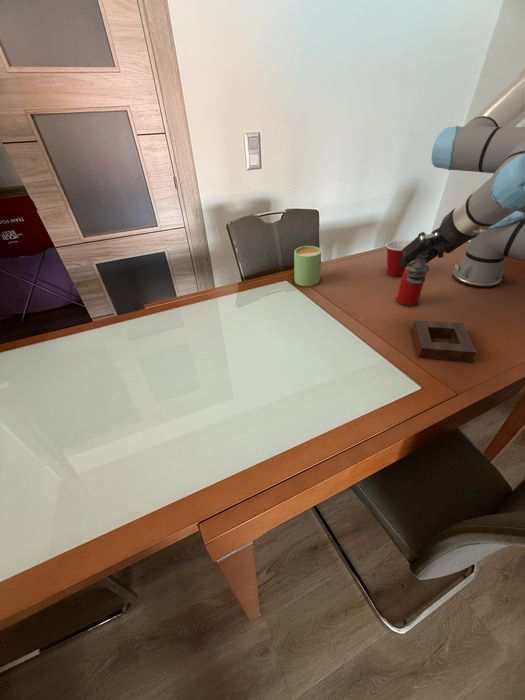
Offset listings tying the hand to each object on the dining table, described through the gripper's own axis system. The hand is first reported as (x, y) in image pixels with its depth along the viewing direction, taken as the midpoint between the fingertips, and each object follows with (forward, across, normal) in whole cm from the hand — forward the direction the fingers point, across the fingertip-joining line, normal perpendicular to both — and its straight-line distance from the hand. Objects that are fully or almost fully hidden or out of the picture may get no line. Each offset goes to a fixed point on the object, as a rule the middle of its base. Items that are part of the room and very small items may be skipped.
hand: (411, 262), depth 87 cm
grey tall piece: (0, 0, -5) cm, 5 cm away
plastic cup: (+33, +12, +6) cm, 35 cm away
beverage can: (+18, +7, -8) cm, 21 cm away
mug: (+36, -23, +10) cm, 44 cm away
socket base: (+1, +5, -25) cm, 25 cm away
